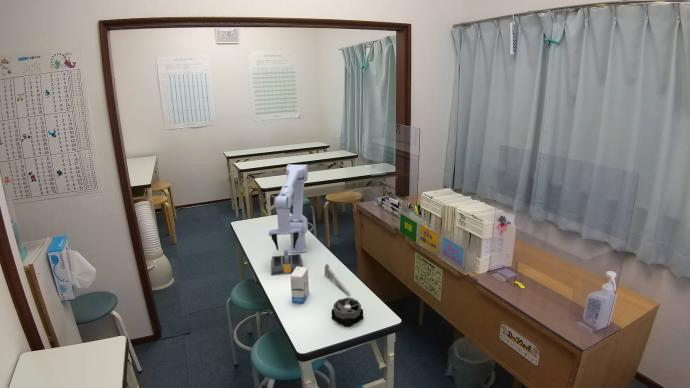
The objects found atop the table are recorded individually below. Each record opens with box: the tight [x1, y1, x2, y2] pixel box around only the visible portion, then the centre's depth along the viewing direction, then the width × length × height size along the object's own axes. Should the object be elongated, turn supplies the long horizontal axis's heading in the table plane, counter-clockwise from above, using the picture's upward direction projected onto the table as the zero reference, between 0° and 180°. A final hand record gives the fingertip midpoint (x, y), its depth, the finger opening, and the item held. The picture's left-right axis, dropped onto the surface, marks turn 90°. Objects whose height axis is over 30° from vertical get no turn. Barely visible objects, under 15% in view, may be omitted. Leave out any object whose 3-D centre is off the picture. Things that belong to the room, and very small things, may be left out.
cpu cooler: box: [331, 296, 364, 328], centre depth 146 cm, size 10×6×10 cm
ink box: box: [289, 266, 310, 304], centre depth 159 cm, size 9×5×12 cm, turn 168°
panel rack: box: [270, 253, 304, 276], centre depth 186 cm, size 14×15×5 cm
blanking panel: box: [283, 249, 290, 264], centre depth 186 cm, size 8×2×6 cm, turn 10°
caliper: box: [324, 263, 351, 297], centre depth 169 cm, size 21×1×6 cm, turn 31°
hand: (285, 248), depth 184 cm, fingers open, 7 cm apart
